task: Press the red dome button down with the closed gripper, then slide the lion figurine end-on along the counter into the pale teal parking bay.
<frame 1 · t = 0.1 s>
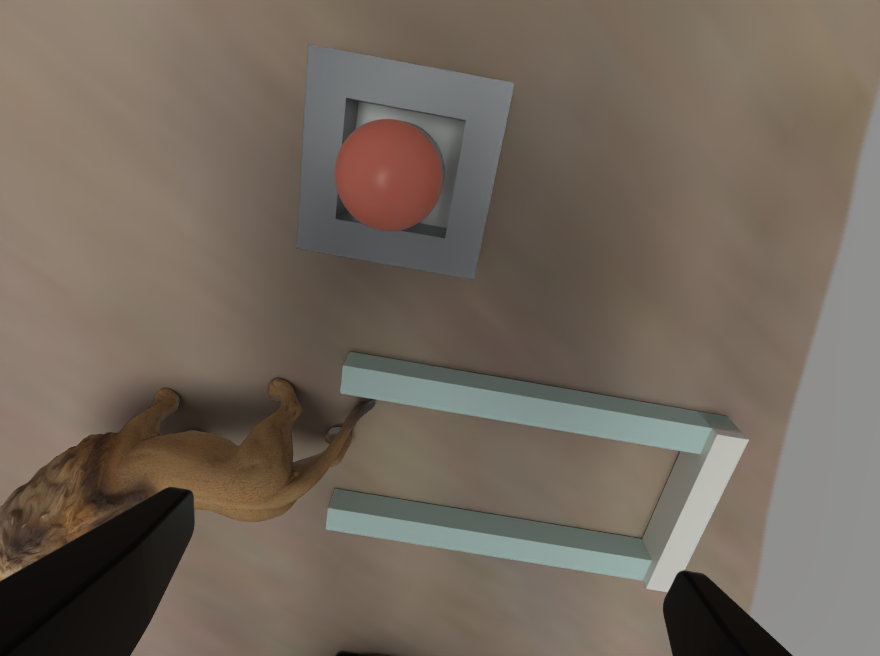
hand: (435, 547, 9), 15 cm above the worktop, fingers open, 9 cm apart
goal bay: (517, 465, 26), on the worktop
button housing: (406, 166, 20), on the worktop
dome plunger: (390, 176, 16), point 5 cm above the worktop, slide at 0.0 cm
lion figurine: (236, 421, 26), on the worktop
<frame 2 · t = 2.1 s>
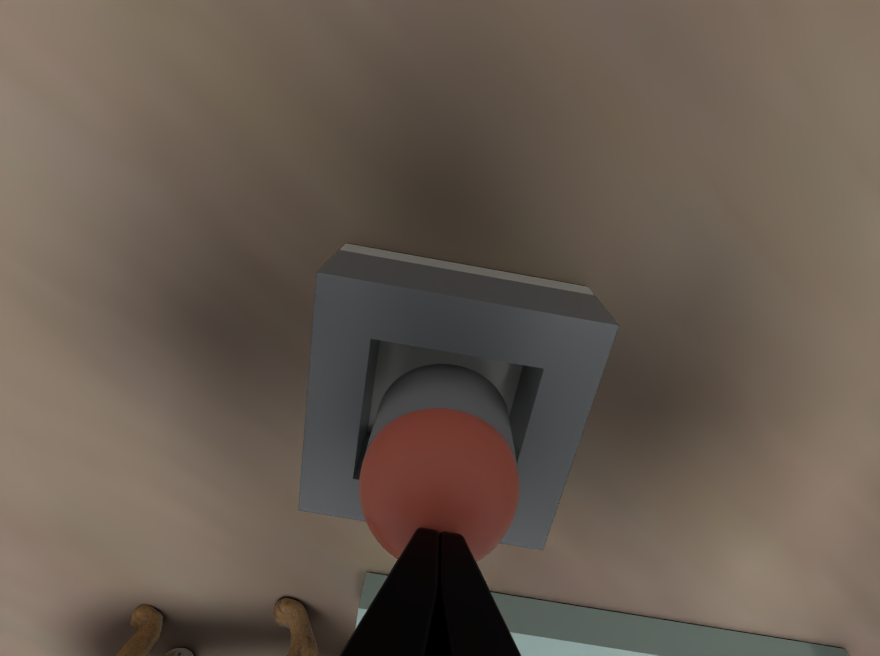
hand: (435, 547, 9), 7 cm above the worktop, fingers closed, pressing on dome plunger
button housing: (446, 372, 15), on the worktop
dome plunger: (439, 473, 11), point 5 cm above the worktop, slide at 0.2 cm, touching gripper
lion figurine: (234, 636, 21), on the worktop
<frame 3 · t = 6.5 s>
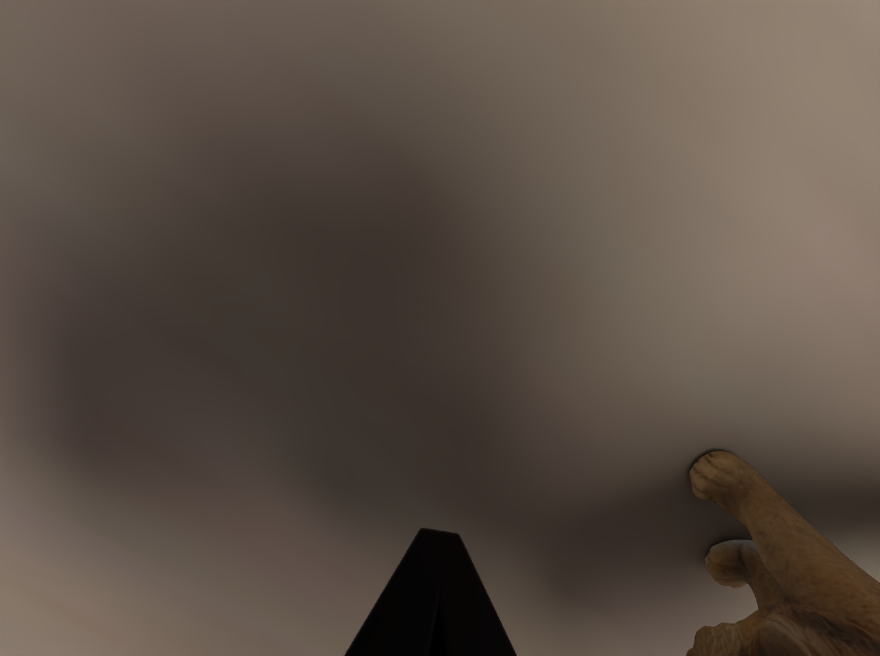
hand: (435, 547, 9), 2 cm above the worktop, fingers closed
lion figurine: (837, 519, 12), on the worktop, touching gripper
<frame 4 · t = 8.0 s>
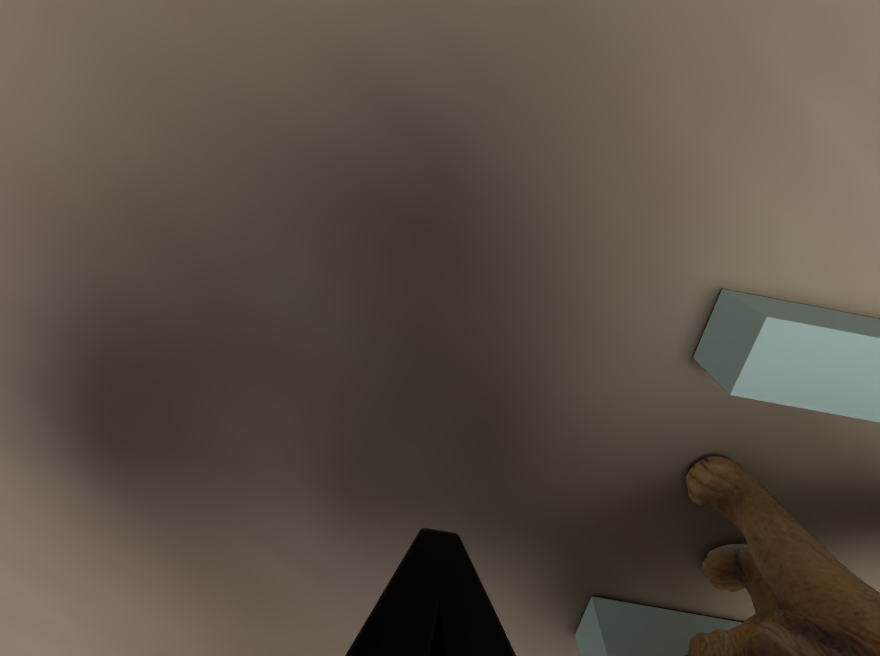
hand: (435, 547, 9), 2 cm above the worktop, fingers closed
lion figurine: (834, 523, 12), resting in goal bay, touching gripper
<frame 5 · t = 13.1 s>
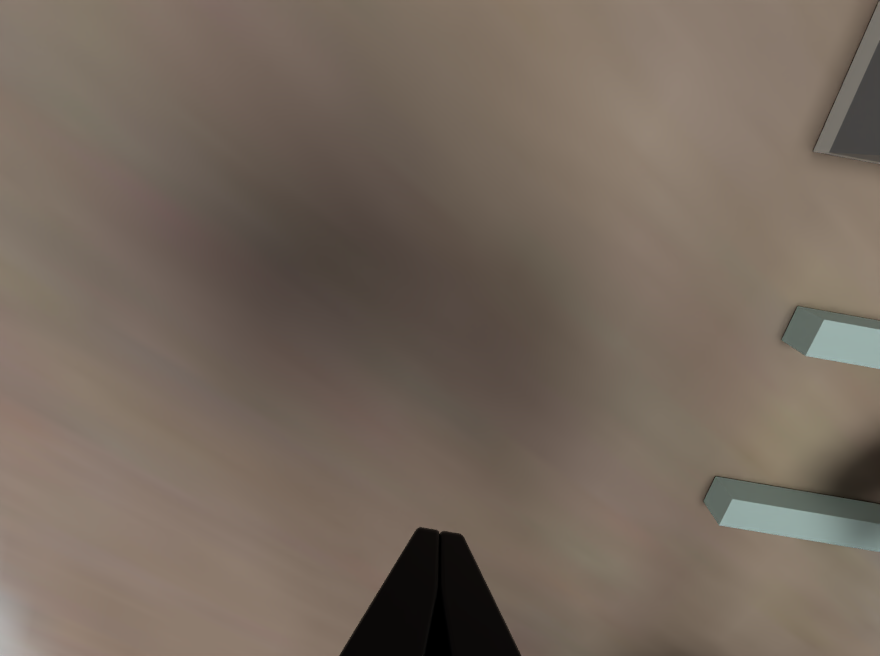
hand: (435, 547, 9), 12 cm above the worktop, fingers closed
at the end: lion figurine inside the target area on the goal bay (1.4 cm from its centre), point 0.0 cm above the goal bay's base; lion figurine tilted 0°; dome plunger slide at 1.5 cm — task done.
